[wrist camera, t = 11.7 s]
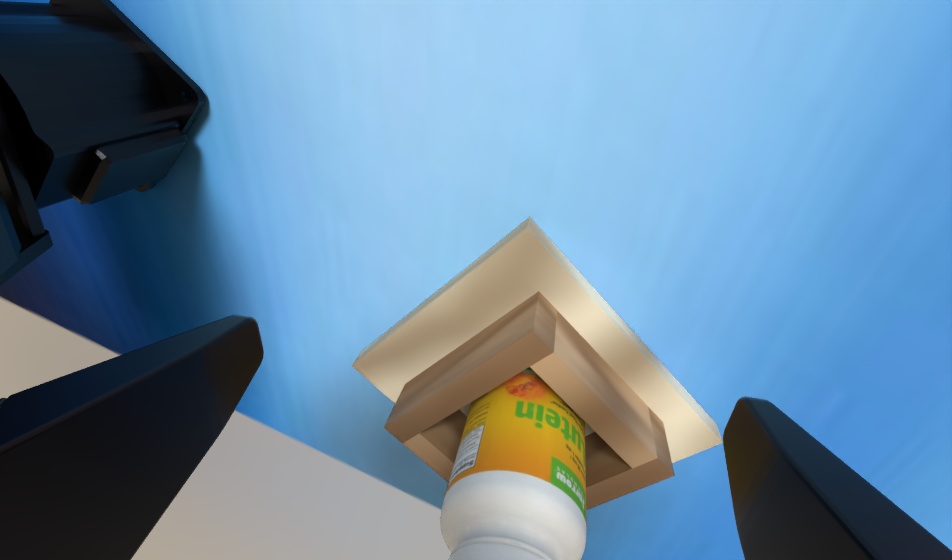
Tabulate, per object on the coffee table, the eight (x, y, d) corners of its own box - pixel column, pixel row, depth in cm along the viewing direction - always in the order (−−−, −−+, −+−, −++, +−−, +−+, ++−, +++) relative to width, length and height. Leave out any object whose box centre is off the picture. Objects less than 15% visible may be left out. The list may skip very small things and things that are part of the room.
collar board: (361, 351, 25) (324, 406, 21) (529, 217, 19) (518, 260, 16) (530, 502, 28) (523, 572, 25) (716, 423, 23) (742, 498, 19)
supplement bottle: (608, 394, 22) (627, 626, 13) (544, 456, 24) (528, 681, 16) (509, 338, 21) (465, 541, 13) (456, 407, 24) (391, 612, 16)
